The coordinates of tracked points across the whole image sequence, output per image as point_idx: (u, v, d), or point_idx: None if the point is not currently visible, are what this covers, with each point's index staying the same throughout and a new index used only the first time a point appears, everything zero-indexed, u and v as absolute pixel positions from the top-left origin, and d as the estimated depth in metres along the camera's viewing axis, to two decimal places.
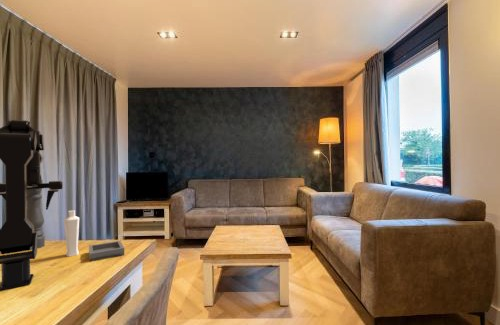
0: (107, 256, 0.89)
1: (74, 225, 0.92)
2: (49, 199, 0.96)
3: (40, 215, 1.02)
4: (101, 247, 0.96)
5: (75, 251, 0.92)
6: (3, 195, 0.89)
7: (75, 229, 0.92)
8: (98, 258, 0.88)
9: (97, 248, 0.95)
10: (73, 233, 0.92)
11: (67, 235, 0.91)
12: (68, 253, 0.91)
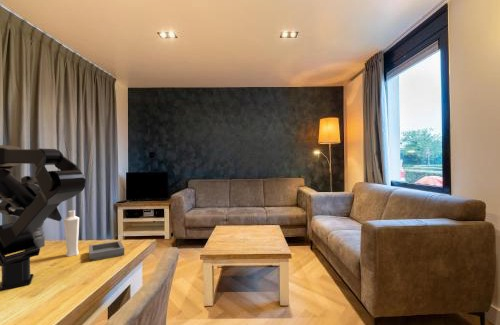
0: (107, 256, 0.89)
1: (74, 225, 0.92)
2: (49, 218, 0.80)
3: None
4: (101, 247, 0.96)
5: (75, 251, 0.92)
6: (11, 215, 0.81)
7: (75, 229, 0.92)
8: (98, 258, 0.88)
9: (97, 248, 0.95)
10: (73, 233, 0.92)
11: (67, 235, 0.91)
12: (68, 253, 0.91)
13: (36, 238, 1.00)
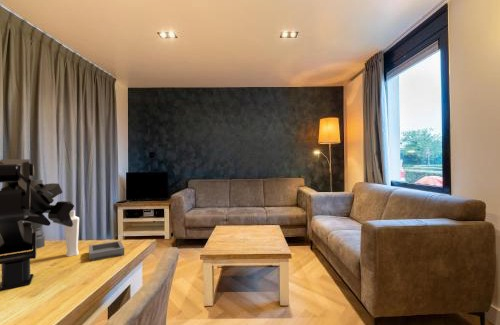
0: (107, 256, 0.89)
1: (74, 225, 0.92)
2: (62, 224, 0.84)
3: None
4: (101, 247, 0.96)
5: (75, 251, 0.92)
6: None
7: (75, 229, 0.92)
8: (98, 258, 0.88)
9: (97, 248, 0.95)
10: (73, 233, 0.92)
11: (67, 235, 0.91)
12: (68, 253, 0.91)
13: (36, 238, 1.00)
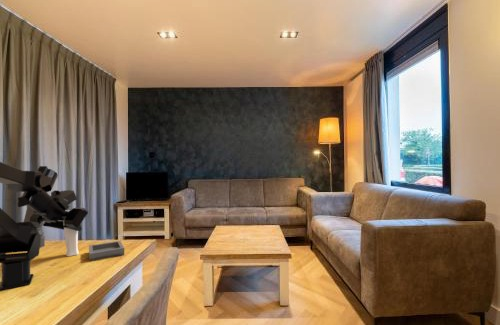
0: (107, 256, 0.89)
1: None
2: (72, 229, 0.89)
3: None
4: (101, 247, 0.96)
5: (75, 251, 0.92)
6: (47, 226, 0.89)
7: None
8: (98, 258, 0.88)
9: (97, 248, 0.95)
10: (72, 233, 0.92)
11: (66, 235, 0.91)
12: (68, 253, 0.91)
13: None
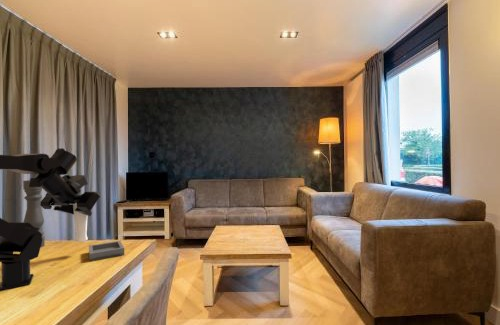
0: (107, 256, 0.89)
1: None
2: (83, 213, 0.90)
3: (40, 215, 1.02)
4: (101, 247, 0.96)
5: (84, 236, 0.93)
6: (57, 210, 0.89)
7: None
8: (98, 258, 0.88)
9: (97, 248, 0.95)
10: (82, 218, 0.92)
11: (76, 220, 0.91)
12: (77, 238, 0.92)
13: None
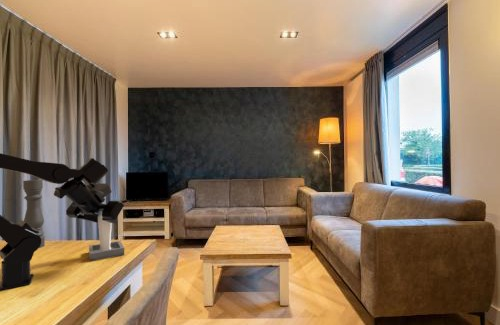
0: (107, 256, 0.89)
1: (108, 222, 0.92)
2: (109, 222, 0.90)
3: (40, 215, 1.02)
4: None
5: (108, 248, 0.93)
6: None
7: (109, 226, 0.92)
8: (98, 258, 0.88)
9: (97, 248, 0.95)
10: (106, 230, 0.92)
11: (101, 232, 0.92)
12: (102, 250, 0.92)
13: None
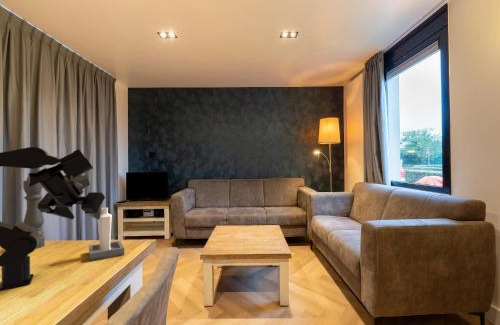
0: (107, 256, 0.89)
1: (107, 222, 0.92)
2: (92, 216, 0.83)
3: (40, 215, 1.02)
4: None
5: (108, 248, 0.93)
6: (50, 213, 0.82)
7: (108, 226, 0.92)
8: (98, 258, 0.88)
9: (97, 248, 0.95)
10: (106, 230, 0.92)
11: (101, 232, 0.92)
12: (102, 250, 0.92)
13: None
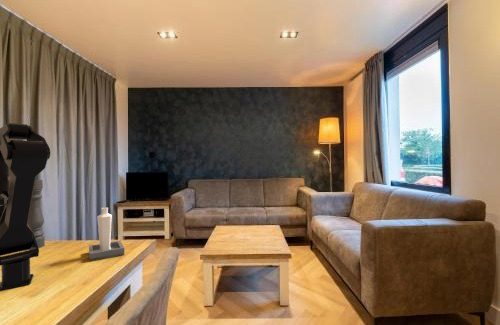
0: (107, 256, 0.89)
1: (107, 222, 0.92)
2: None
3: (40, 215, 1.02)
4: None
5: (108, 248, 0.93)
6: (5, 207, 0.76)
7: (108, 226, 0.92)
8: (98, 258, 0.88)
9: (97, 248, 0.95)
10: (106, 230, 0.92)
11: (101, 232, 0.92)
12: (102, 250, 0.92)
13: (36, 238, 1.00)
